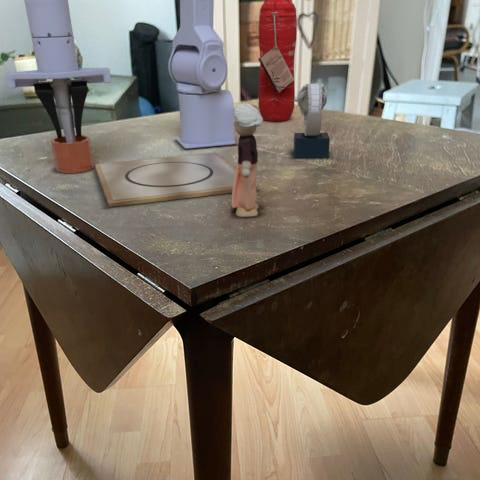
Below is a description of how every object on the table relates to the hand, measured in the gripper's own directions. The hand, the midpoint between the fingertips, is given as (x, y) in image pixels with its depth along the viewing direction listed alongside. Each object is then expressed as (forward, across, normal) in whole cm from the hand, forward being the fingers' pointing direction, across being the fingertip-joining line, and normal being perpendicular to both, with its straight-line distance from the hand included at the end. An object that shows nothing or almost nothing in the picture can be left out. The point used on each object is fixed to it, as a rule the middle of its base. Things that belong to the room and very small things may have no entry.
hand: (69, 135), depth 83 cm
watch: (+5, -38, +6) cm, 39 cm away
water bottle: (+5, -43, -23) cm, 49 cm away
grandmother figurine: (+5, -19, +29) cm, 35 cm away
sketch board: (+5, -13, +11) cm, 18 cm away
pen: (+5, 0, 0) cm, 5 cm away
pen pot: (+5, 0, 0) cm, 5 cm away
